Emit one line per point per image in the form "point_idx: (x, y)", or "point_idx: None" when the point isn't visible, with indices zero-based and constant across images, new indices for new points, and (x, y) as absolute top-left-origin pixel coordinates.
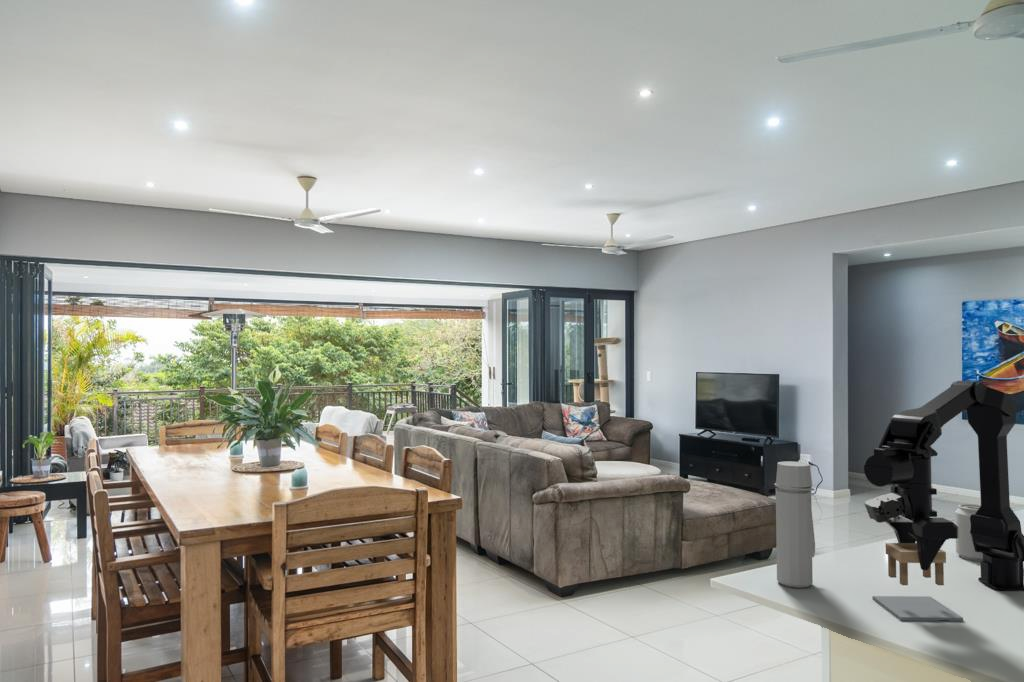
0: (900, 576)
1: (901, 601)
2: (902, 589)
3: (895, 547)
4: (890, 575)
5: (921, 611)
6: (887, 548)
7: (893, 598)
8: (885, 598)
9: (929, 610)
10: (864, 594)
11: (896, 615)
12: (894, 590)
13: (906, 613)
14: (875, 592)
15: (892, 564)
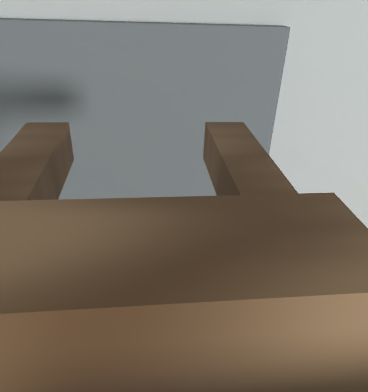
0: (39, 143)
1: (203, 137)
2: (364, 212)
3: (124, 335)
4: (214, 126)
5: (78, 163)
6: (316, 242)
7: (243, 119)
8: (248, 81)
9: (94, 198)
10: (356, 18)
11: (11, 19)
12: (363, 180)
13: (36, 82)
14: (365, 90)
15: (221, 178)
